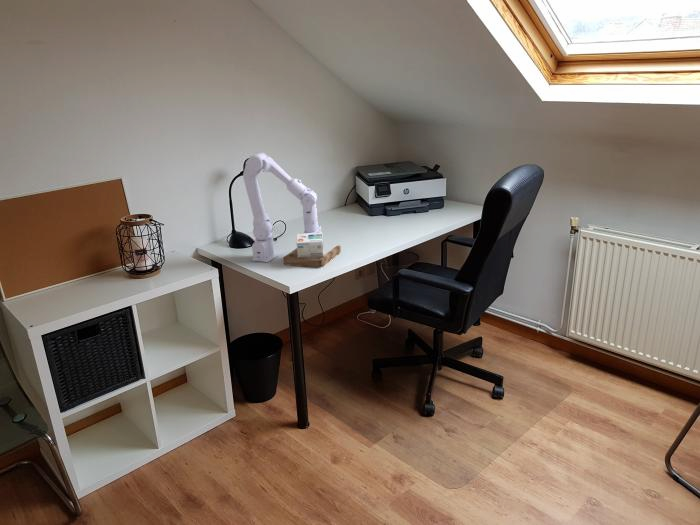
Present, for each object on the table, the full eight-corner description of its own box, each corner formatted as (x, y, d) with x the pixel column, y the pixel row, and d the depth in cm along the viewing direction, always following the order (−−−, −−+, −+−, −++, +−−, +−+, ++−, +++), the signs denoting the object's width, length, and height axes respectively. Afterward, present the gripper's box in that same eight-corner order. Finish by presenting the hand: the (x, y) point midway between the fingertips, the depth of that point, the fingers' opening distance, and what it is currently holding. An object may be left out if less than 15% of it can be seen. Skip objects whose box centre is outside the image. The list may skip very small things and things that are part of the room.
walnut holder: (321, 267, 231) (321, 260, 230) (283, 264, 238) (283, 257, 237) (340, 252, 249) (340, 245, 248) (305, 249, 255) (304, 242, 254)
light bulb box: (324, 252, 243) (322, 231, 236) (324, 262, 238) (322, 241, 231) (298, 253, 243) (296, 232, 236) (298, 263, 238) (296, 242, 231)
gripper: (312, 226, 231) (314, 258, 235) (326, 216, 243) (328, 246, 248) (296, 225, 233) (299, 256, 238) (311, 215, 246) (313, 245, 250)
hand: (313, 251), depth 243 cm, fingers closed, pressing on light bulb box
